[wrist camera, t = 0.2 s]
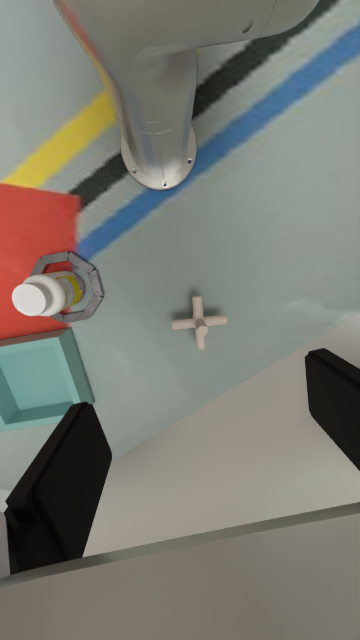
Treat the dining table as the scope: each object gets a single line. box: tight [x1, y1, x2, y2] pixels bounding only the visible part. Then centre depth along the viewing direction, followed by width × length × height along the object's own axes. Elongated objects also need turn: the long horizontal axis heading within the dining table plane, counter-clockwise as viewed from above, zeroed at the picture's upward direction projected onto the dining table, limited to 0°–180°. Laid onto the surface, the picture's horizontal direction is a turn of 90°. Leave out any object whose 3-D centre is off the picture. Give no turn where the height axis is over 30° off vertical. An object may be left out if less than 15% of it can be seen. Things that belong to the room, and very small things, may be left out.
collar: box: [29, 252, 104, 323], centre depth 43 cm, size 13×13×2 cm
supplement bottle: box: [12, 271, 85, 316], centre depth 37 cm, size 7×7×13 cm
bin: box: [0, 328, 95, 432], centre depth 46 cm, size 18×18×6 cm
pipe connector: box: [172, 295, 227, 349], centre depth 41 cm, size 10×10×10 cm
